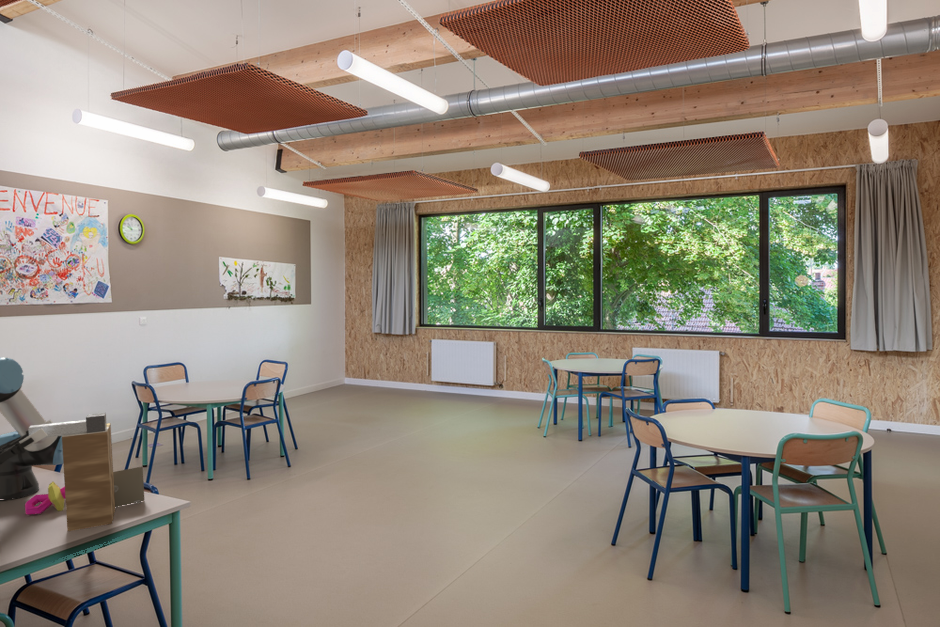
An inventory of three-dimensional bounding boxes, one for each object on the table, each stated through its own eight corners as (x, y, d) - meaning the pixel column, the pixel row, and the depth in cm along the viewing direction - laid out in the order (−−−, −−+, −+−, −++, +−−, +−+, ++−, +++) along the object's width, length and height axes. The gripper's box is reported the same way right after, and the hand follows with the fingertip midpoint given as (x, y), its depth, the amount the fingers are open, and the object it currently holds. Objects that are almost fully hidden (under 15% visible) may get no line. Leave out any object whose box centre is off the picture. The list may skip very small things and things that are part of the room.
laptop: (138, 493, 219) (136, 458, 219) (144, 502, 210) (142, 466, 209) (80, 505, 208) (78, 469, 208) (84, 515, 198) (82, 477, 198)
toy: (30, 510, 206) (17, 490, 201) (88, 485, 215) (77, 465, 210) (32, 529, 200) (19, 508, 194) (92, 503, 208) (81, 482, 203)
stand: (73, 517, 196) (68, 427, 195) (115, 510, 202) (110, 423, 200) (67, 531, 185) (61, 436, 183) (112, 523, 190) (106, 431, 189)
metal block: (31, 436, 184) (30, 420, 184) (106, 427, 193) (105, 412, 193) (28, 439, 180) (27, 423, 180) (105, 430, 189) (104, 415, 189)
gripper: (-4, 469, 188) (63, 428, 196) (-28, 492, 166) (49, 445, 174) (-20, 450, 186) (48, 410, 194) (-47, 472, 164) (32, 425, 172)
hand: (49, 427), depth 184 cm, fingers open, 13 cm apart
